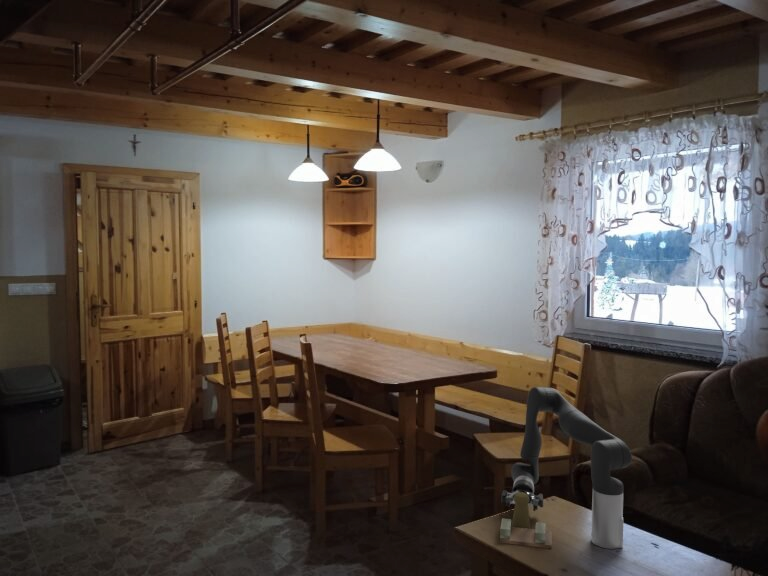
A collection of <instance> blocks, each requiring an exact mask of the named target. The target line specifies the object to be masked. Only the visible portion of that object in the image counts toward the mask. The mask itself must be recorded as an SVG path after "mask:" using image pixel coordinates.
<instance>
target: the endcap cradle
mask: <svg viewBox="0 0 768 576" xmlns="http://www.w3.org/2000/svg"><path fill="white" fill-rule="evenodd" d="M499 533H500V535H499V537H500V538H499V543H503V544H512V545H518V544H519V545H521V546H528V547H535V548H536V547H537V548H543V549H552V548H553V543H552V541H553V540H552V539H553V538H552V536H553V535H552V531H548V530H546V522H537V521H536V522H535V529H533V528H527V529H526V528H517V527H514V526H512V519H510V518H503V517H502V518H501V524H500V531H499ZM519 545H518V546H519Z"/></svg>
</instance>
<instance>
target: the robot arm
mask: <svg viewBox="0 0 768 576" xmlns="http://www.w3.org/2000/svg"><path fill="white" fill-rule="evenodd" d="M539 412H543V413H544V412H545V413H552V414H555V415H556V416H557V417H558V425H559V427H560V429H561V430H562V432H564V433H565V434H566V435H567V436H569V438H571V439H572V440H574V441H575V442H577V443H581V444H583V445H587V446H589V447H591V448H590V476H591V477H590V478H591V481H592V499H591V500H592V502H591V505H592V506H591V529H590V530H591V531H590V534H591V535H590V536H591V537H590V538H591V540H590V541H591V542H592V543H593V544H594V545H596V546H597V547H600V548H604V549H608V550H609V549H611V550H614V549H623V547H624V544H623V543H624V517H623V516H624V515H623V514H624V511H623V510H624V487H625V486H624V483H623V482H622V481H621V480H620V479H618V478H616V477H614V476H611V471H612V470H620V469H621V470H622V469H625V468H627V467H629V466H630V465H631V463H632V461H633V460H632V452H631V450H630V448H629V445H627V444H626V442H625V441H623V440H622V439H620V437H617V436H616V435H613V434H612V433H611V432H608V431H606V430H605V429H604V428H602V427H601V426H600V425H598V424H597V423H595V421H593V420H592V419H590V418H589V417H588V416H587V415H585V413H583V412H582V411H581V410H579V409H578V408H576V407H575V406H574V405H572V404H571V403H570V402H569V401H568V400H567V399H566V398H565V397H564V396H563V395H562V394H561V392H559V391H558V390H557V389H555V388H553V387H549V386H548V387H547V386H534V387H531V389H530V390H529V391H528V395H527V401H526V412H525V413H526V414H525V428H524V437H523V440H522V445H521V447H520V449H521V450H520V454H519V456H520V458H521V459H522V460H523V461H525V462H527V463H528V464H527V463H523V462H515V463H514V464H513V465H512V467H511V471H510V474H511V478H512V481H513V486H512V491H510V492H508V491H507V490H506V489H503V490H502V493H501V497H500V499H501V500H500V501H501V503H502V504H505V507H507V509H511V504H512V505H515V502H514V495H515V493H517V492H524V493H526V494H528V496H529V503H528V506H531V507H532V510H533V512H536V510H538V507H539V508H543V507H544V495H543V493H539V494H538V495H535V494H534V493H535V486H534V485H536V484H537V483H538V481H539V479H540V478H539V477H540V475H539V474H540V473H539V458H540V454H541V449H542V445H543V442H542V441H543V439H542V435H541V431H540V429H539V425H538V420H537V419H538V415H539Z"/></svg>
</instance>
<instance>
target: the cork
mask: <svg viewBox="0 0 768 576" xmlns="http://www.w3.org/2000/svg"><path fill="white" fill-rule="evenodd" d="M514 502H515V504H514V508H513V514H512V519H511V526H512V525H513V526H512V527H517V528H527V529H530V527H531V525H530V514H529V504H528V503H529V496H528V494H526V493H524V492H517V493H515V495H514Z"/></svg>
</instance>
